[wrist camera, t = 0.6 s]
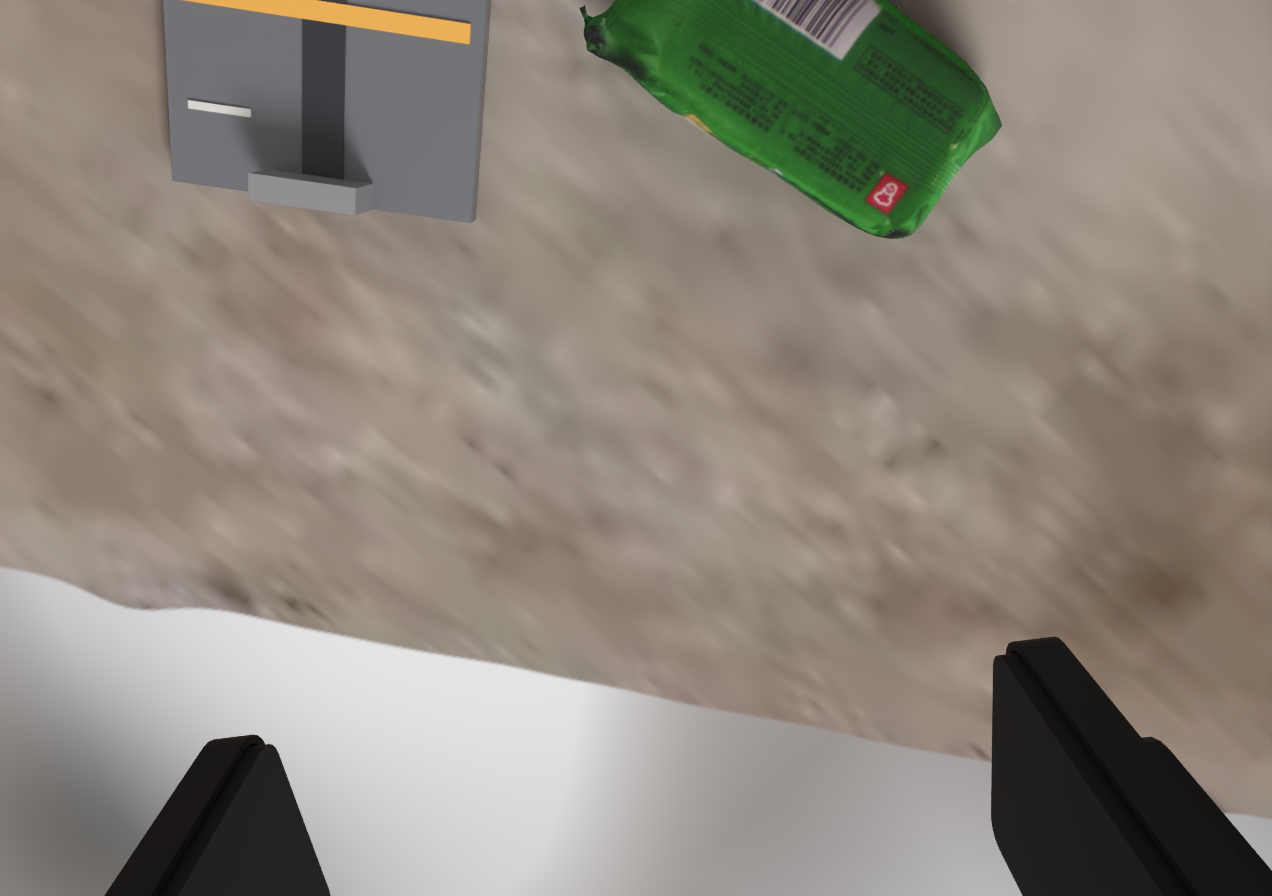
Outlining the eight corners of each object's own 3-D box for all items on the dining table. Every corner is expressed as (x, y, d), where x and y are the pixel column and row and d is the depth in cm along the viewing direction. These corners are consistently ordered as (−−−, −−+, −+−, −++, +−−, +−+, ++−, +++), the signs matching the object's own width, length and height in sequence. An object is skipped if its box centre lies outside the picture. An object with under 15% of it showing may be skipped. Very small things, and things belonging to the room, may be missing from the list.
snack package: (673, -128, 32) (680, -171, 27) (995, 108, 35) (1052, 108, 30) (577, 50, 34) (567, 39, 29) (888, 258, 37) (925, 280, 32)
